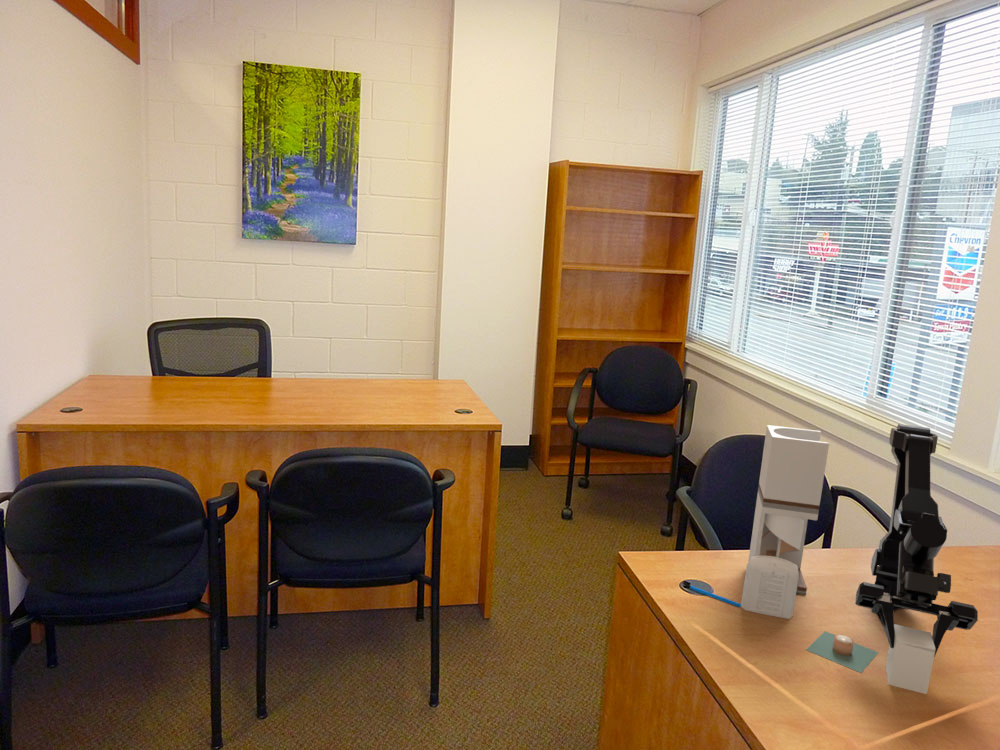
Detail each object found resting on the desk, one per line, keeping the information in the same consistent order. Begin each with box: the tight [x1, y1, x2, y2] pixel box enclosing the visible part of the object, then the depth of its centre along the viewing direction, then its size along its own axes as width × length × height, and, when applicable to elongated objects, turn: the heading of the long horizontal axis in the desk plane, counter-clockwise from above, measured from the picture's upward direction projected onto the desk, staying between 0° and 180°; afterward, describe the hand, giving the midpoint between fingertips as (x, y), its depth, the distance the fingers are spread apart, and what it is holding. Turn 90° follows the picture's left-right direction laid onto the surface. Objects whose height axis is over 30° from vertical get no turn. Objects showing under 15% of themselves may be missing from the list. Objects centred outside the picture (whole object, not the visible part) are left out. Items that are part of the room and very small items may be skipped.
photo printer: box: [740, 556, 799, 619], centre depth 155 cm, size 10×4×12 cm, turn 72°
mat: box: [805, 630, 879, 674], centre depth 142 cm, size 10×10×1 cm
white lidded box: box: [885, 623, 936, 695], centre depth 133 cm, size 6×6×9 cm
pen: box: [683, 584, 742, 608], centre depth 160 cm, size 1×19×1 cm, turn 52°
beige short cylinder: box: [832, 634, 855, 656], centre depth 141 cm, size 3×3×2 cm
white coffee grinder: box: [747, 424, 830, 595], centre depth 167 cm, size 11×11×35 cm
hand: (912, 652), depth 131 cm, fingers closed on white lidded box, 6 cm apart
